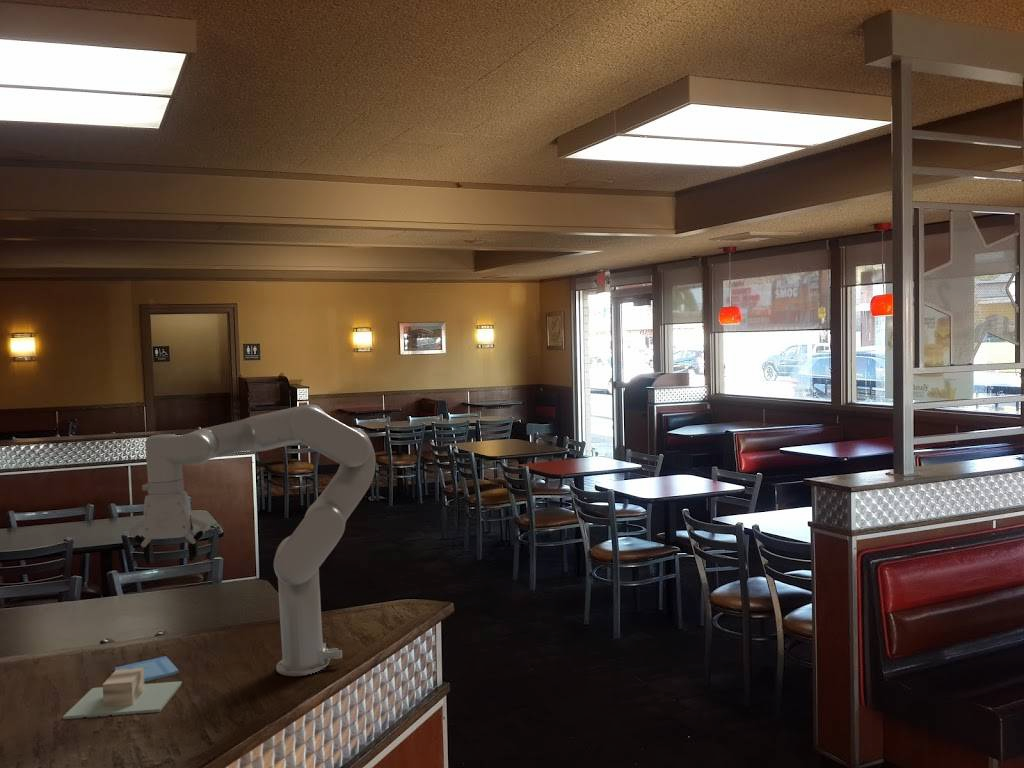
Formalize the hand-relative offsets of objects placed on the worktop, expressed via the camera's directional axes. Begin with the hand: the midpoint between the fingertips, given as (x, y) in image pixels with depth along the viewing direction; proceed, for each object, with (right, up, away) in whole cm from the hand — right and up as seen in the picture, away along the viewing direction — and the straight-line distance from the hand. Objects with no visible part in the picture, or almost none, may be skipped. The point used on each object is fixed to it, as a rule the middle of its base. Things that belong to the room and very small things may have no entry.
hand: (171, 561), depth 208 cm
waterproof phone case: (-9, -29, +9) cm, 32 cm away
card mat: (-7, -29, -9) cm, 31 cm away
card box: (-7, -28, -9) cm, 31 cm away
